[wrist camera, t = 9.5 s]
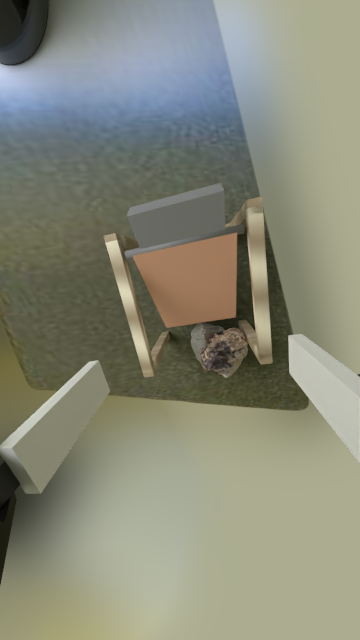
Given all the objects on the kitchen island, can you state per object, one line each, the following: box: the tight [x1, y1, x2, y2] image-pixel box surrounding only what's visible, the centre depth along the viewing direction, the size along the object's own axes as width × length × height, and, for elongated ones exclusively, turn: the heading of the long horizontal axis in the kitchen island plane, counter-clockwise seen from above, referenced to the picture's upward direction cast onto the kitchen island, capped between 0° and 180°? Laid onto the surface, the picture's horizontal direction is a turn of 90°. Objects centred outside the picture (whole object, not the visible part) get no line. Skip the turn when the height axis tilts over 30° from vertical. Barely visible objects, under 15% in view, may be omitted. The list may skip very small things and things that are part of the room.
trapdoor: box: [125, 183, 245, 328], centre depth 26 cm, size 19×14×3 cm
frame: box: [104, 197, 273, 377], centre depth 30 cm, size 20×18×15 cm
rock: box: [191, 322, 248, 378], centre depth 35 cm, size 9×12×10 cm
